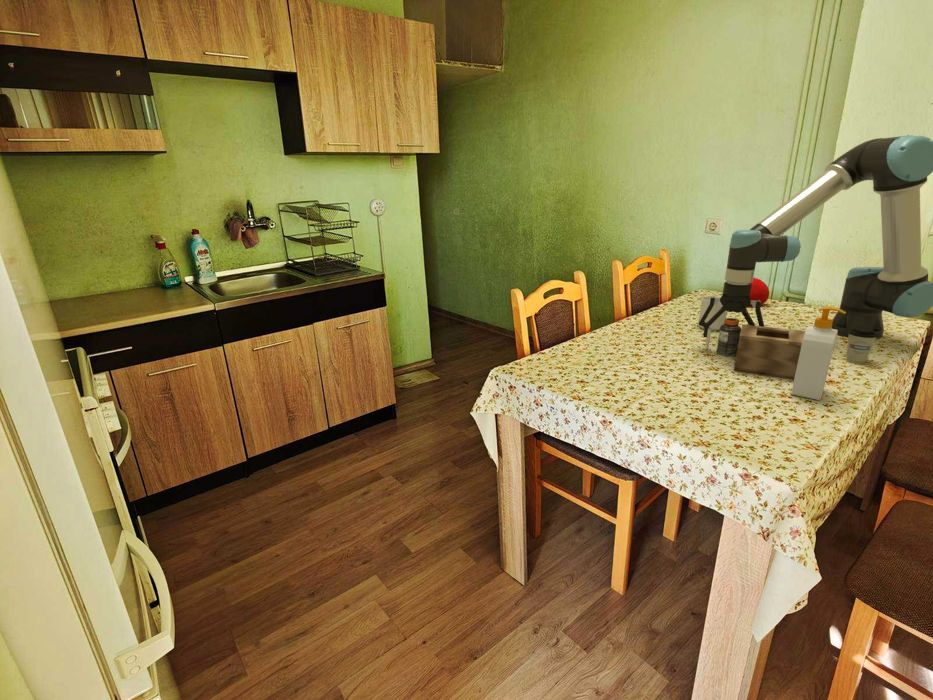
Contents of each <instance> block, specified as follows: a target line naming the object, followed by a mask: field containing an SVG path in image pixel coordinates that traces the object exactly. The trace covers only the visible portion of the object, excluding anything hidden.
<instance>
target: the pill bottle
mask: <svg viewBox="0 0 933 700" xmlns="http://www.w3.org/2000/svg"><path fill="white" fill-rule="evenodd" d="M739 324H740V319H738V318H735V317H726V319H725V321H724V324H723V325H721V327H720V330H719V331H718V341H717V347H716V352H717V353H718V354H720V355H722V356H728V357H729V356H731V357H733V356H736V355H737V349H738V343H739V337H740V332H741V328H742V326H740V325H739Z"/></svg>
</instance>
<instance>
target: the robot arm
mask: <svg viewBox="0 0 933 700" xmlns="http://www.w3.org/2000/svg"><path fill="white" fill-rule="evenodd" d="M932 173H933V139H932V138H930V137H928V136H925V135H908V134H907V135H902V136H893V137H882V138H881V137H880V138H872V139H870V140H867V141H864V142H862V143H860V144H858V145H856V146H853V148H851V149H849V150H848V151H845V153H843V154H841V155H840V156H839V157H838V158H836V159H835V160H834V161H832V162H831V163H830V164H828V165H827V166H826V167H825V169H824V172H823V173H822V174H821V175H819V176H818V177H817V178H816V179H815V178H814V180H813V181H811V182H810V183H808V184H807V185H806V186H805V187H803V188H802V189H801V190H799V191H798V192H797V193H796V194H794V195H793V196H792V197H790V198H789V199H788V200H786V201H785V202H784V203H782V204H781V205H780V206H778V207H777V208H776V209H774V210H773V211H772V212H771V213H769V214H768V215H766V217H765V218H763V219H761V221H759V222H757V223H756V224H754V226H752V227H751V228H749V229H737V230H735V231H733V233H732V234H731V238H730V242H729V245H728V246H729V248H728V256H727V257H728V258H727V264H726V268H725V269H726V270H725V275H724V280H725V282H723V289H722V294H721V296H719V297H721V298H719V297H715V296H716V295H711V296H712V297H711V299H710V305H709V306H708V308H707V310H706V311H705V313H704V315H703V317H702V318H701V320H700V322H699V321H698V322H699V324H698V326H699V325H700V326H703V327H704V329H703V335H702V336H703V338H706V341H705V349H709V346H710V339H711V334H712V331H711V328H712V327H709V326H710V325H711V324H712V323H713V322H714V321H715V320H716V319H717V318H718V317H719V316H720V315H721V314H723V313H724V312H725V311H727V313H737V314H739V313H741V314H742V316H743V318H744V319H745V321H746V322H747V325H753V326H757V325H756V324H755V322H754V320H753V318H752V317H751V315H750V313H749V310H748V309H747V308H748V307H749V305H750V304H752V306H751V307H752V308H754V311H755V314H756V318H757V319H756V320H757V324H758V326H762V327H766V326H765V323H764V322H765V321H764V317H763V315H762V309H761V305H762V304H761V301H760V300H757V301H754V300H751V299H750V294H751V288H752V284H751V282H753V278H754V275H755V271H756V264H757V263H769V262H770V263H773V262H774V263H775V262H781V263H783V262H790V261H794V260H795V259H797V257H798V256H799V254H800V252H801V248H802V247H801V241H800V239H799V238H798V236H795V235H786V234H785V233H786V232H787V231H788V230H790V229H792V228H793V227H794V226H795V225H797V224H798V223H799V222H800V221H802V220H804V219H805V218H806V217H807V216H809V215H810V214H812V213H813V212H814V211H816V210H817V209H818V208H820V207H821V206H822V205H824V204H825V203H826V202H827V201H829V200H830V199H832V198H833V197H834V196H836V195H837V194H839V193H840V192H841V191H847V190H849V189H851V188H852V187H853V186H855V185H856V184H859V183H862V182H864V181H865V182H866V181H872V186H873V187H872V188H873V189H872V190H873V192H874V193H876V194H878V195H879V196H880V215H881V216H880V217H881V236H882V238H881V239H882V243H881V244H882V262H883V263H882V266H862V267H859V266H858V267H853V268H851V269H849V270H848V272H847V275H846V278H845V283H844V287H843V292H842V296H841V301H840V306H839V308H838V309H840V310H843V311H844V312H846V313H845V314H843V313H841V312H838V311H836V313H835V315H834V316H833V318H831V319H832V320H833V323H832V327H831V328H832V329H835V330H838V332H837V336H843V337H847V338H848V336H849V333H848V331H849V330H851V329H853V328H854V327H865V328H870V329H873V330H874V332H875V333H877V336H878V337H876V339H875V340H877V338H878V339H881V338H883V335H884V333H885V327H884V320H883V319H884V318H883V311H884V312H887V313H890V314H894V316H897V317H903V318H904V317H905V318H909V319H910V318H917V317H920V316H922V315H924V314H926V313H927V312H929V311H930V310H931V308H932V307H933V281H929V271H928V269H927V268H926V267H924V266H922V241H921V239H922V238H921V237H922V236H921V235H922V233H921V231H922V229H921V188H922V187H923V186H924V185H925V184H927V182H928V177H929V176H930V175H931V174H932ZM783 234H785V235H783ZM718 301H720V302H721V304H722V307H721V309H720V310H719V311H718V312H717V313H716V314H715V315H714V316H713V317H712V318H711V319H710V320H709V321H708V322H707V323H706V322H704V321H705V320H706V318H707V316H708V315H709V313H710V311H711V309H712V308H713V306H714V304H717V302H718ZM700 326H699V327H700Z"/></svg>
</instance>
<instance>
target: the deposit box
mask: <svg viewBox="0 0 933 700" xmlns="http://www.w3.org/2000/svg"><path fill="white" fill-rule="evenodd" d="M805 331H806V330H797V329H789V328H788V329H786V328H779V327H778V328H777V327H770V326H769V327H768V326H765V327H762V326H759V325H756V326H753V325H749V324H742V325H741V332H740V337H739V343H738V349H737V354H736V355H735V360H734V361H735V362H734V367H733V371H736V372H742V373H747V374H748V373H749V374H750V373H751V374H756V375H762V376H769V377H776V378H782V379H789V380H794V378H795V374H796V369H797V364H798V360H799V355H800V351H801V346H802V342H803V338H804V334H805Z"/></svg>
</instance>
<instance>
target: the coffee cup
mask: <svg viewBox="0 0 933 700" xmlns="http://www.w3.org/2000/svg"><path fill="white" fill-rule="evenodd" d="M848 333H849V336H848V337H847V349H846V358H845V360H846V361H847V362H850V363H852V362H853V363H852V364H857V363H863V364H866V363H867V360H868V358H869V355H870V353H871V350H872V348H873V346H874V344H875V341H876V340H877V339H876V337H878V336H877V333H875V332H874V330H873V329H870V328H865V327H854V328H853V329H851V330H849V331H848Z"/></svg>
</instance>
